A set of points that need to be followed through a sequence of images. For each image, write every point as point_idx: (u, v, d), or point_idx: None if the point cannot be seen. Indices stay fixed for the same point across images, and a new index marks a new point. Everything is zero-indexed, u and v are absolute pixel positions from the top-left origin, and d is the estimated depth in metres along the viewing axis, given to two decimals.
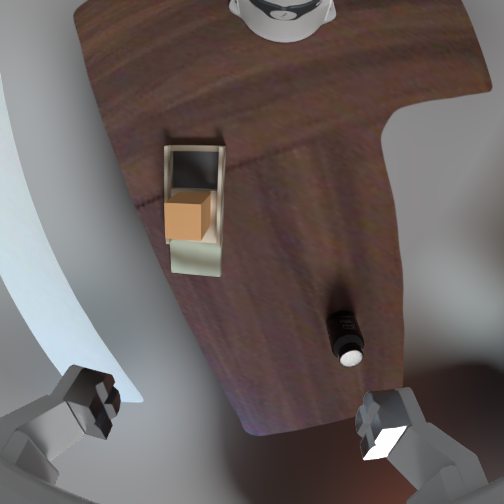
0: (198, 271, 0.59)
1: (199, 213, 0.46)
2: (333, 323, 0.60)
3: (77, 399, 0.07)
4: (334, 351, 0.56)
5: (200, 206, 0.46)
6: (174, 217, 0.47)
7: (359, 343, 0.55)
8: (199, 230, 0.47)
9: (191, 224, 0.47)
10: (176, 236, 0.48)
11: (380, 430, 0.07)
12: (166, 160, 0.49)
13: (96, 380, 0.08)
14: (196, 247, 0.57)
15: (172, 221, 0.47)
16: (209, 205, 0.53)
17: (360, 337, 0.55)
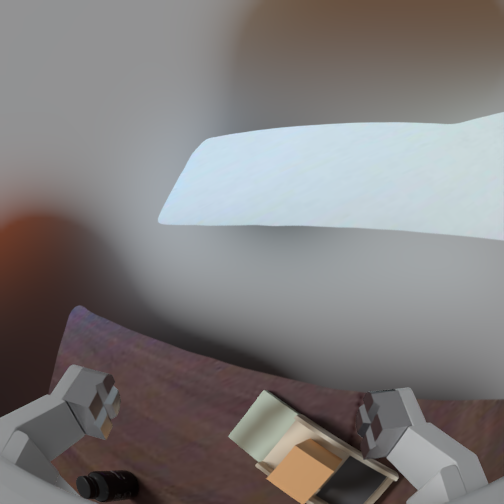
0: (246, 419, 0.42)
1: (295, 497, 0.27)
2: (127, 486, 0.40)
3: (77, 399, 0.07)
4: (98, 476, 0.38)
5: (301, 502, 0.26)
6: (310, 471, 0.28)
7: (95, 498, 0.35)
8: (278, 485, 0.28)
9: (290, 482, 0.28)
10: (288, 458, 0.30)
11: (380, 430, 0.07)
12: (382, 472, 0.29)
13: (96, 380, 0.08)
14: (272, 437, 0.39)
15: (307, 466, 0.29)
16: None
17: (100, 501, 0.35)
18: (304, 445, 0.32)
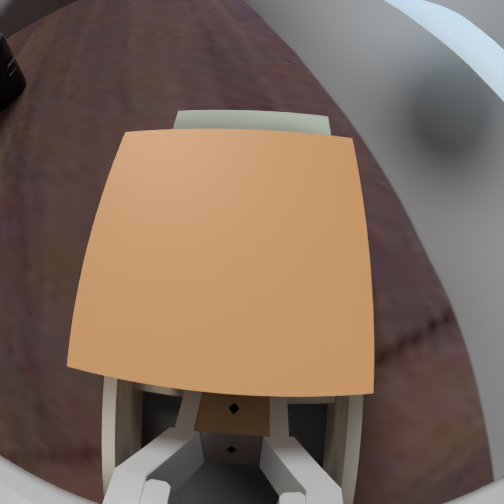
0: (242, 117, 0.18)
1: (85, 299, 0.05)
2: None
3: (212, 426, 0.07)
4: None
5: (75, 351, 0.05)
6: (292, 274, 0.06)
7: None
8: (113, 184, 0.07)
9: (159, 218, 0.06)
10: (278, 143, 0.07)
11: (231, 434, 0.07)
12: None
13: (226, 401, 0.08)
14: None
15: (310, 240, 0.06)
16: None
17: None
18: None
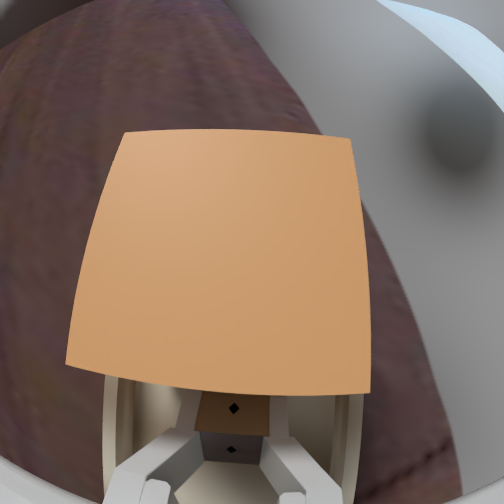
0: None
1: (84, 298, 0.06)
2: None
3: (212, 426, 0.07)
4: None
5: (74, 349, 0.05)
6: (289, 274, 0.06)
7: None
8: (113, 184, 0.07)
9: (157, 218, 0.06)
10: (276, 143, 0.07)
11: (231, 434, 0.07)
12: None
13: (226, 401, 0.08)
14: None
15: (307, 240, 0.06)
16: None
17: None
18: None
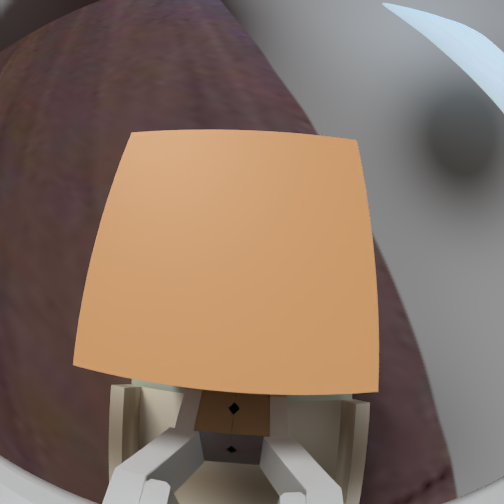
0: None
1: (92, 298, 0.06)
2: None
3: (212, 426, 0.07)
4: None
5: (81, 350, 0.05)
6: (298, 273, 0.06)
7: None
8: (120, 184, 0.07)
9: (166, 218, 0.06)
10: (284, 144, 0.07)
11: (232, 434, 0.07)
12: None
13: (226, 401, 0.08)
14: None
15: (316, 241, 0.06)
16: None
17: None
18: None
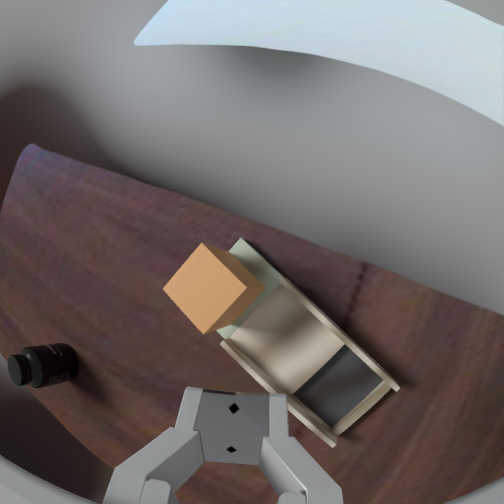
0: None
1: (194, 321, 0.27)
2: (64, 365, 0.39)
3: (212, 426, 0.07)
4: (30, 354, 0.34)
5: (202, 330, 0.27)
6: (217, 283, 0.27)
7: (28, 383, 0.34)
8: (175, 300, 0.28)
9: (190, 296, 0.28)
10: (191, 261, 0.28)
11: (231, 434, 0.07)
12: (382, 377, 0.28)
13: (226, 401, 0.08)
14: None
15: (214, 274, 0.27)
16: None
17: (34, 387, 0.34)
18: (216, 250, 0.30)
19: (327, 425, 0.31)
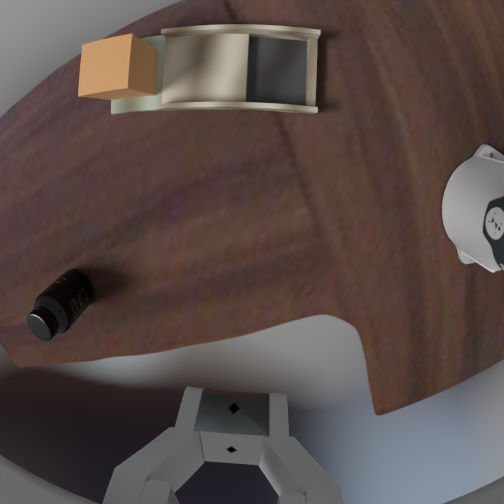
0: None
1: (114, 87, 0.24)
2: (73, 284, 0.40)
3: (212, 426, 0.07)
4: (40, 299, 0.35)
5: (125, 87, 0.24)
6: (110, 51, 0.22)
7: (59, 329, 0.36)
8: (91, 91, 0.24)
9: (99, 77, 0.23)
10: (84, 59, 0.23)
11: (231, 434, 0.07)
12: (297, 30, 0.26)
13: (226, 401, 0.08)
14: None
15: (105, 49, 0.22)
16: (136, 95, 0.30)
17: (67, 328, 0.37)
18: None
19: None
